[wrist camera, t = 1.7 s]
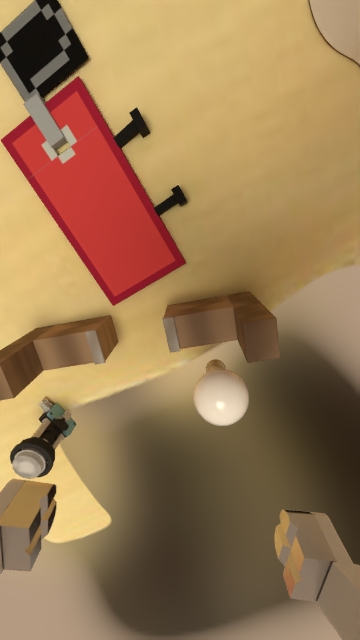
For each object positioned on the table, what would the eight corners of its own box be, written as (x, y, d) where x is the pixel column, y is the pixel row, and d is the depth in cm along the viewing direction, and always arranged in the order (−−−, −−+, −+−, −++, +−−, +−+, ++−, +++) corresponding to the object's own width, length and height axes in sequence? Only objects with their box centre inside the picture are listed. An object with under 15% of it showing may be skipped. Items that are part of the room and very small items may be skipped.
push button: (33, 405, 43) (-12, 454, 33) (58, 388, 42) (19, 434, 32) (61, 435, 44) (25, 490, 35) (86, 420, 43) (57, 473, 34)
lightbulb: (213, 393, 41) (220, 448, 30) (184, 364, 40) (181, 411, 29) (246, 367, 40) (266, 415, 29) (217, 336, 38) (227, 375, 28)
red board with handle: (68, -20, 28) (-37, 77, 31) (55, -46, 25) (-59, 63, 28) (211, 247, 35) (115, 303, 38) (212, 248, 33) (110, 308, 36)
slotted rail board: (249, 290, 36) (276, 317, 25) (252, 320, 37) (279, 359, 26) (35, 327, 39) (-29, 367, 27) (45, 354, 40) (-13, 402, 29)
